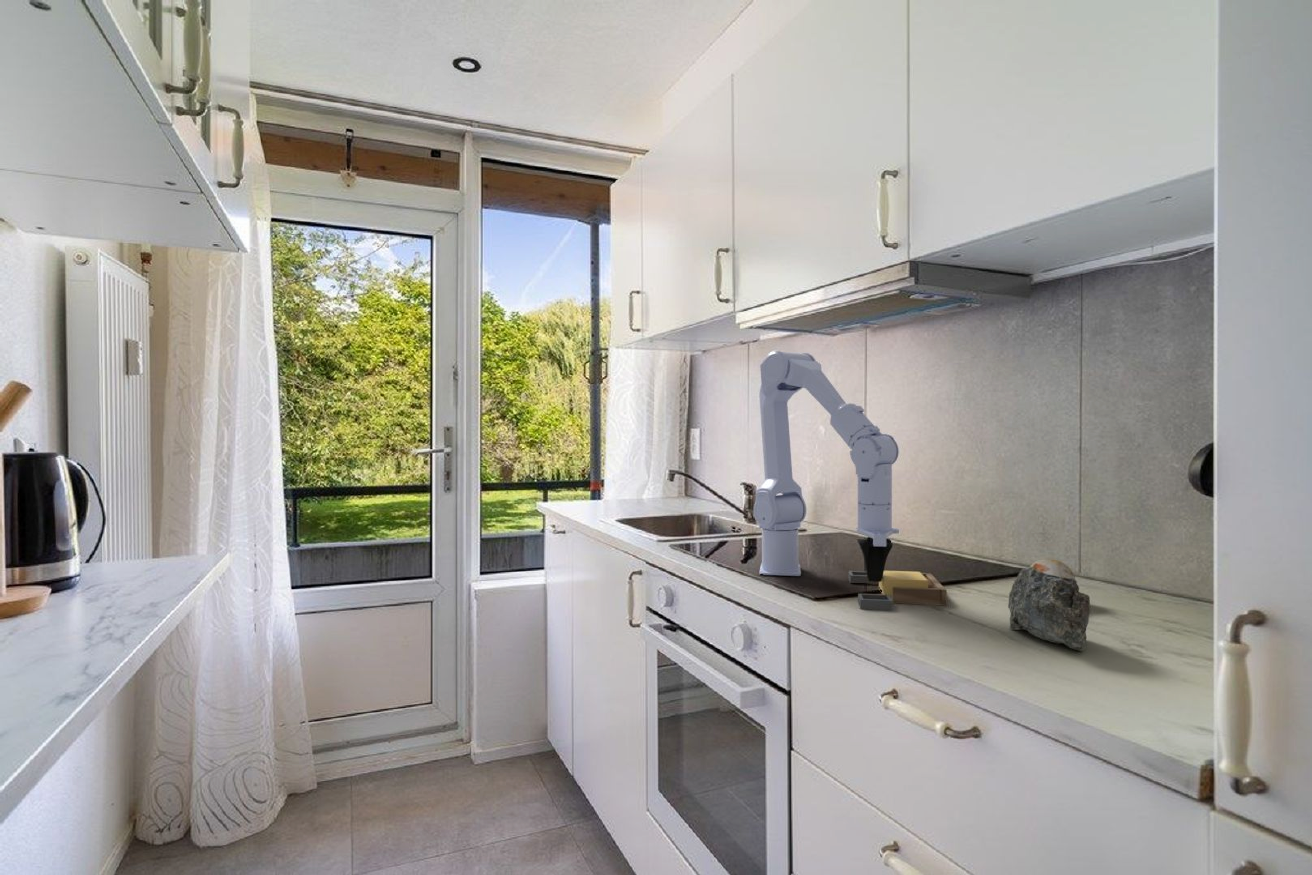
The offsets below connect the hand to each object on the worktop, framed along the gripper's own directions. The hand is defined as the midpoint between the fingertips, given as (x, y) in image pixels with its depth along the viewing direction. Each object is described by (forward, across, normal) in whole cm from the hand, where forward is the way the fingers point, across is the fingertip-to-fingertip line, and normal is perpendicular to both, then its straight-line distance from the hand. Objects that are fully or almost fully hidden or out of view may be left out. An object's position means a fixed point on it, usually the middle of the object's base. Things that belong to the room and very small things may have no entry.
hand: (874, 580), depth 121 cm
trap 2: (+2, -9, +1) cm, 9 cm away
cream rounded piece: (+3, -3, -28) cm, 28 cm away
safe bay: (+2, 0, -6) cm, 6 cm away
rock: (+2, -23, -19) cm, 30 cm away
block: (+2, +1, -5) cm, 5 cm away
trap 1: (+2, +9, +1) cm, 9 cm away
